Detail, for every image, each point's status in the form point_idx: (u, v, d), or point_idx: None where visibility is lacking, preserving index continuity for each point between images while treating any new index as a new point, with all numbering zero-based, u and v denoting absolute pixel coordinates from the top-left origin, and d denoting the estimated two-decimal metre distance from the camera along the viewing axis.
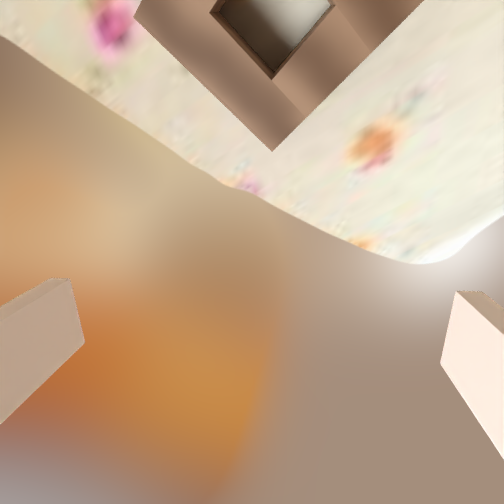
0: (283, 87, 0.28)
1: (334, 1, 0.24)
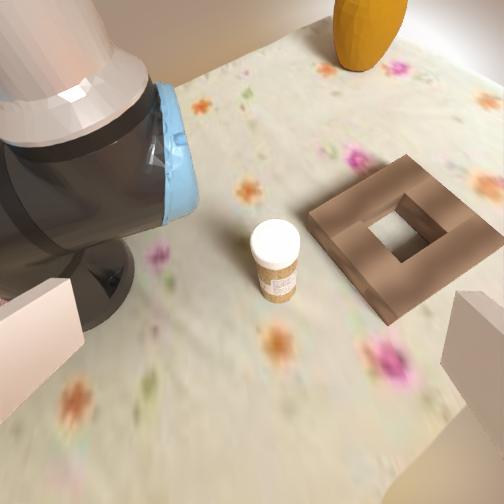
0: (453, 225, 0.37)
1: (402, 193, 0.39)
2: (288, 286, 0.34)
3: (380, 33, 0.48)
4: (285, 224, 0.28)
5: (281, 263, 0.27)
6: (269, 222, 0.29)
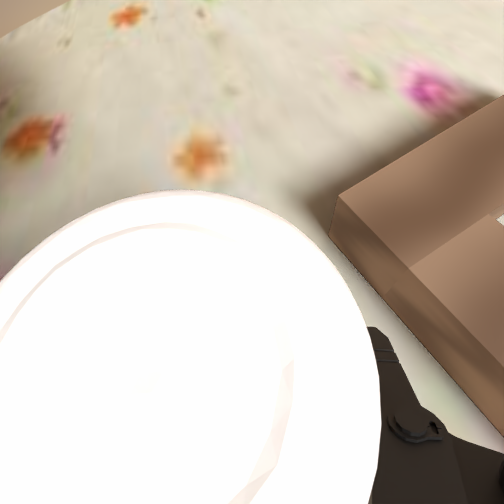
0: None
1: None
2: None
3: None
4: (251, 231, 0.03)
5: None
6: (127, 217, 0.04)
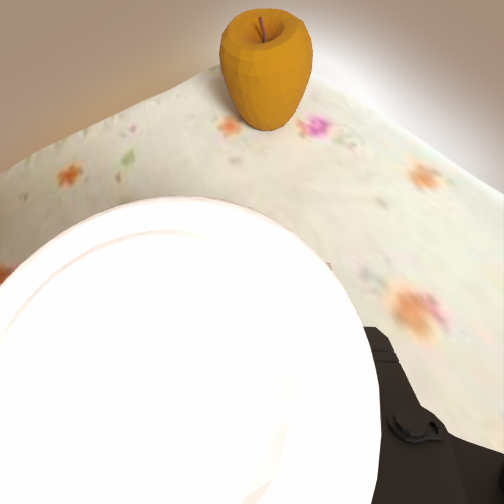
0: None
1: None
2: None
3: (276, 92, 0.36)
4: (250, 238, 0.03)
5: None
6: (125, 224, 0.04)
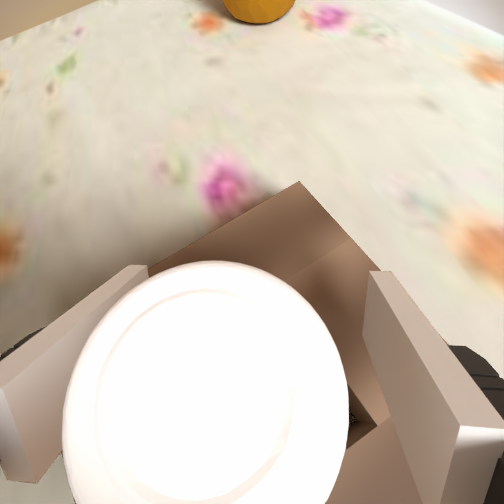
0: None
1: None
2: None
3: None
4: (265, 296, 0.05)
5: None
6: (180, 284, 0.05)
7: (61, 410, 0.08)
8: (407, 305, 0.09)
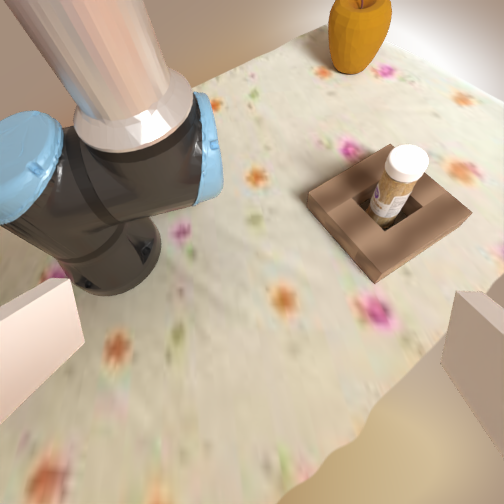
0: (427, 201, 0.45)
1: None
2: (400, 207, 0.43)
3: (368, 41, 0.56)
4: (415, 147, 0.37)
5: (416, 174, 0.36)
6: (402, 146, 0.37)
7: None
8: None
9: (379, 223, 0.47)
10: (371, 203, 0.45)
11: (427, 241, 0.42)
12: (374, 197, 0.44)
